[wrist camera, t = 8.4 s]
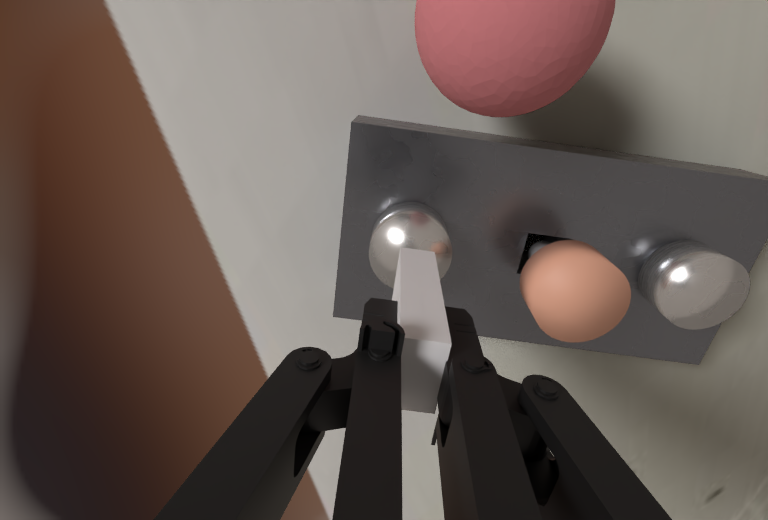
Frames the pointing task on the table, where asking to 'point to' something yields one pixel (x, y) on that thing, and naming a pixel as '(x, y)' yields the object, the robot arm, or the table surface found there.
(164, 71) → the table surface
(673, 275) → the knob
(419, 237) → the knob
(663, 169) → the mount plate
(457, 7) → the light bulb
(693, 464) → the table surface
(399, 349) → the robot arm
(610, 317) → the knob
